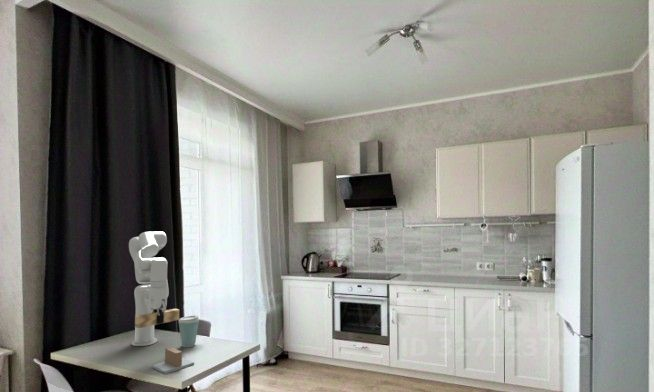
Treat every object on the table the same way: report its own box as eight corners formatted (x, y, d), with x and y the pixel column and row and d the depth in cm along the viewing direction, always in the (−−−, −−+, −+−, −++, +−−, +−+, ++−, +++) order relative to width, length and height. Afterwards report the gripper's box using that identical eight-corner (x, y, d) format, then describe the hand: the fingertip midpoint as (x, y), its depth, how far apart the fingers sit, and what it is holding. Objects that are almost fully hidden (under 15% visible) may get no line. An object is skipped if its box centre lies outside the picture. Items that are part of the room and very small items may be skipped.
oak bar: (138, 328, 177) (138, 317, 178) (134, 326, 180) (135, 316, 180) (179, 319, 193) (179, 309, 193) (175, 318, 195) (175, 308, 196)
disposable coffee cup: (177, 349, 197) (178, 320, 198) (177, 343, 207) (178, 315, 208) (199, 347, 201) (199, 318, 202) (198, 341, 211) (198, 313, 212)
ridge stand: (151, 367, 174) (152, 351, 174) (180, 358, 184) (181, 343, 185) (164, 373, 166) (165, 357, 166) (194, 364, 176) (194, 349, 177)
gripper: (143, 283, 190) (142, 321, 189) (159, 287, 179) (158, 327, 178) (158, 281, 196) (157, 318, 195) (174, 285, 185) (173, 323, 184)
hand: (157, 322), depth 186 cm, fingers closed on oak bar, 4 cm apart
